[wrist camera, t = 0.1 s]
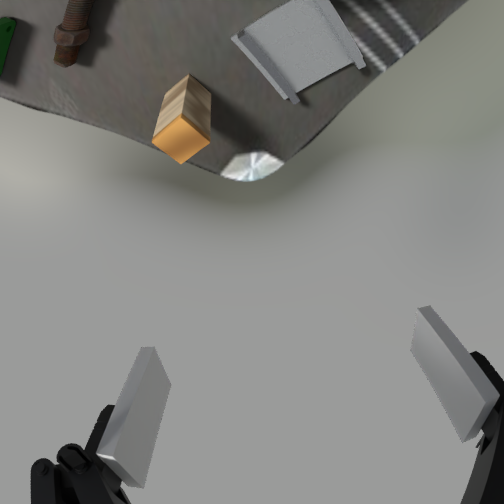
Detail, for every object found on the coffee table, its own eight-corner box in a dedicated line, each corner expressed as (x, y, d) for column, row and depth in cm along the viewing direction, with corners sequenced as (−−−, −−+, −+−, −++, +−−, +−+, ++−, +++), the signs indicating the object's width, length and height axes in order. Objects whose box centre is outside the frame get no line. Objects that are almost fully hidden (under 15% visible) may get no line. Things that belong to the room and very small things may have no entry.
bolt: (70, 51, 29) (103, -45, 18) (91, 64, 30) (129, -38, 19) (37, 63, 25) (66, -44, 14) (57, 76, 26) (90, -39, 15)
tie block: (165, 93, 37) (151, 142, 30) (189, 73, 35) (180, 117, 28) (187, 112, 40) (180, 164, 33) (211, 94, 38) (210, 142, 31)
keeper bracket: (230, 36, 31) (231, 43, 29) (317, -15, 25) (325, -12, 23) (283, 96, 39) (287, 108, 37) (360, 54, 33) (370, 63, 31)
